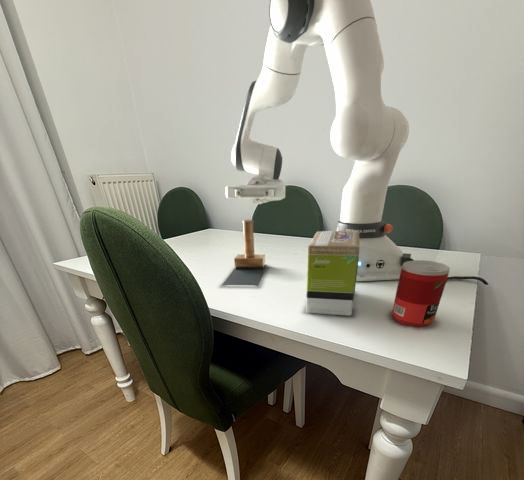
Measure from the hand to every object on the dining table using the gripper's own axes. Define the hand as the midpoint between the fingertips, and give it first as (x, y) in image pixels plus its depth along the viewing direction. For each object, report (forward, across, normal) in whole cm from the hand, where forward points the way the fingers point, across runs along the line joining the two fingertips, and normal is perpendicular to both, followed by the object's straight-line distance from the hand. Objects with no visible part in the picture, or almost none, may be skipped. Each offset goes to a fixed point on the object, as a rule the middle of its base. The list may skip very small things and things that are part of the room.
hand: (252, 194), depth 92 cm
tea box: (+38, +24, +20) cm, 49 cm away
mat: (+19, 0, +20) cm, 28 cm away
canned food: (+47, +39, +19) cm, 64 cm away
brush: (+12, 0, +20) cm, 23 cm away
